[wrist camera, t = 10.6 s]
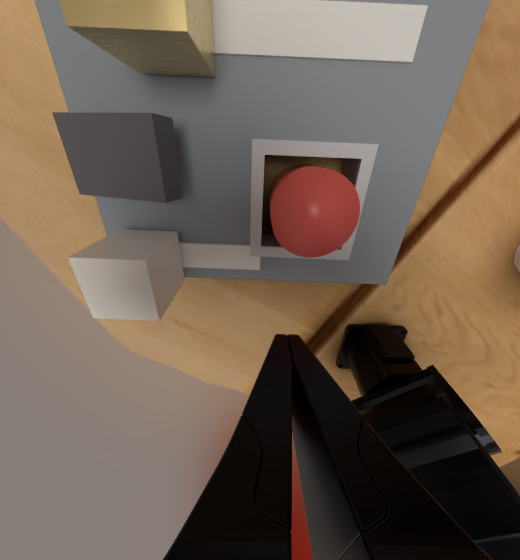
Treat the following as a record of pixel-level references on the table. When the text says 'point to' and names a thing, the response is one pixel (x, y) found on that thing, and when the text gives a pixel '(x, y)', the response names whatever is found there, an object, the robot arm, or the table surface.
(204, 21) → the brass slider
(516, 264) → the foam cup
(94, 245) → the ivory slider
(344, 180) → the red button
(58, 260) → the table surface
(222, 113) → the panel
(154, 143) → the block
